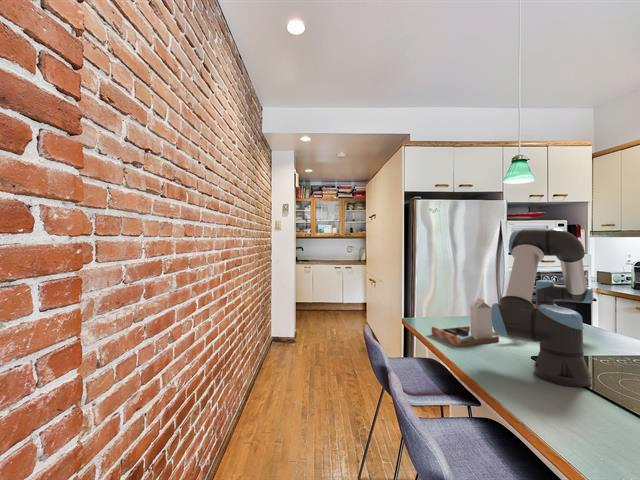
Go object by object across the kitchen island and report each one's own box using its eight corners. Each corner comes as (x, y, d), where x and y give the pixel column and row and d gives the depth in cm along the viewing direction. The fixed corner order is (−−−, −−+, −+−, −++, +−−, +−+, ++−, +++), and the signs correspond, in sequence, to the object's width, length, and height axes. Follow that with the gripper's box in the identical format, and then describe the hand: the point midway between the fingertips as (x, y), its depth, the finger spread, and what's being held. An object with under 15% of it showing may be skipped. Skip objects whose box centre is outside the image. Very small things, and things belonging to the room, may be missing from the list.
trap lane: (498, 341, 139) (498, 333, 139) (458, 347, 133) (458, 337, 133) (468, 330, 158) (468, 322, 158) (431, 334, 152) (431, 326, 152)
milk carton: (486, 336, 148) (485, 297, 148) (492, 340, 141) (492, 299, 141) (470, 336, 148) (470, 297, 149) (476, 340, 141) (476, 299, 142)
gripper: (555, 326, 141) (519, 330, 135) (509, 314, 165) (476, 317, 159) (555, 310, 141) (519, 313, 135) (508, 300, 165) (476, 303, 159)
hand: (496, 315), depth 147 cm, fingers open, 13 cm apart
